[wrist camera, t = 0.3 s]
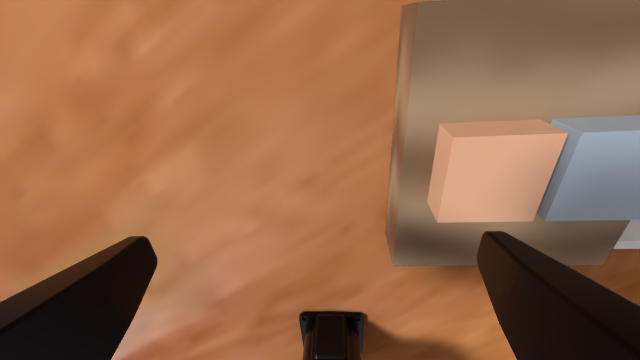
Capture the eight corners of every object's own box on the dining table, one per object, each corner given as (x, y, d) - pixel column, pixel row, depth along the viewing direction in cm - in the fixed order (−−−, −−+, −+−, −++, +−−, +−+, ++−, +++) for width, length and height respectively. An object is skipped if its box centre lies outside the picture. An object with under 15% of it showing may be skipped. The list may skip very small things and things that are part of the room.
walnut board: (565, 231, 22) (602, 265, 19) (385, 233, 23) (393, 265, 20) (686, -16, 14) (783, -26, 11) (401, 5, 15) (418, 2, 12)
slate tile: (613, 198, 16) (646, 219, 14) (523, 200, 17) (544, 221, 15) (659, 114, 14) (706, 127, 12) (552, 118, 14) (582, 132, 12)
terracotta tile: (512, 200, 17) (532, 221, 15) (427, 202, 17) (437, 222, 15) (540, 119, 14) (568, 133, 12) (439, 123, 15) (453, 137, 13)
